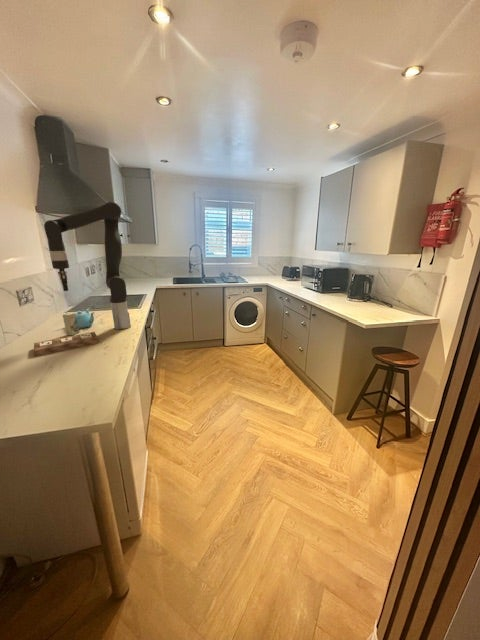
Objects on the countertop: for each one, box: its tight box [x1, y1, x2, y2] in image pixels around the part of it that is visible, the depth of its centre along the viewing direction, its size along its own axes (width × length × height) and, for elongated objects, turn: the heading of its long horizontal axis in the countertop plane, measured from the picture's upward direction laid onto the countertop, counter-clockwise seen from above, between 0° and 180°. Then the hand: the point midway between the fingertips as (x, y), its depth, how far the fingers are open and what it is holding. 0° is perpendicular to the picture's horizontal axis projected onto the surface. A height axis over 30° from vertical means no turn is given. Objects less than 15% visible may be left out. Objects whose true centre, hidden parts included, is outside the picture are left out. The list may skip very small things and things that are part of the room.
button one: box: [61, 336, 73, 343], centre depth 136 cm, size 5×5×4 cm
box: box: [62, 312, 80, 336], centre depth 151 cm, size 5×4×13 cm
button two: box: [40, 340, 53, 347], centre depth 131 cm, size 5×5×4 cm
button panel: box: [33, 331, 100, 357], centre depth 136 cm, size 28×12×3 cm, turn 127°
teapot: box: [63, 307, 95, 330], centre depth 166 cm, size 15×15×10 cm
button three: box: [79, 333, 92, 339], centre depth 141 cm, size 5×5×4 cm
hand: (66, 290), depth 143 cm, fingers closed
